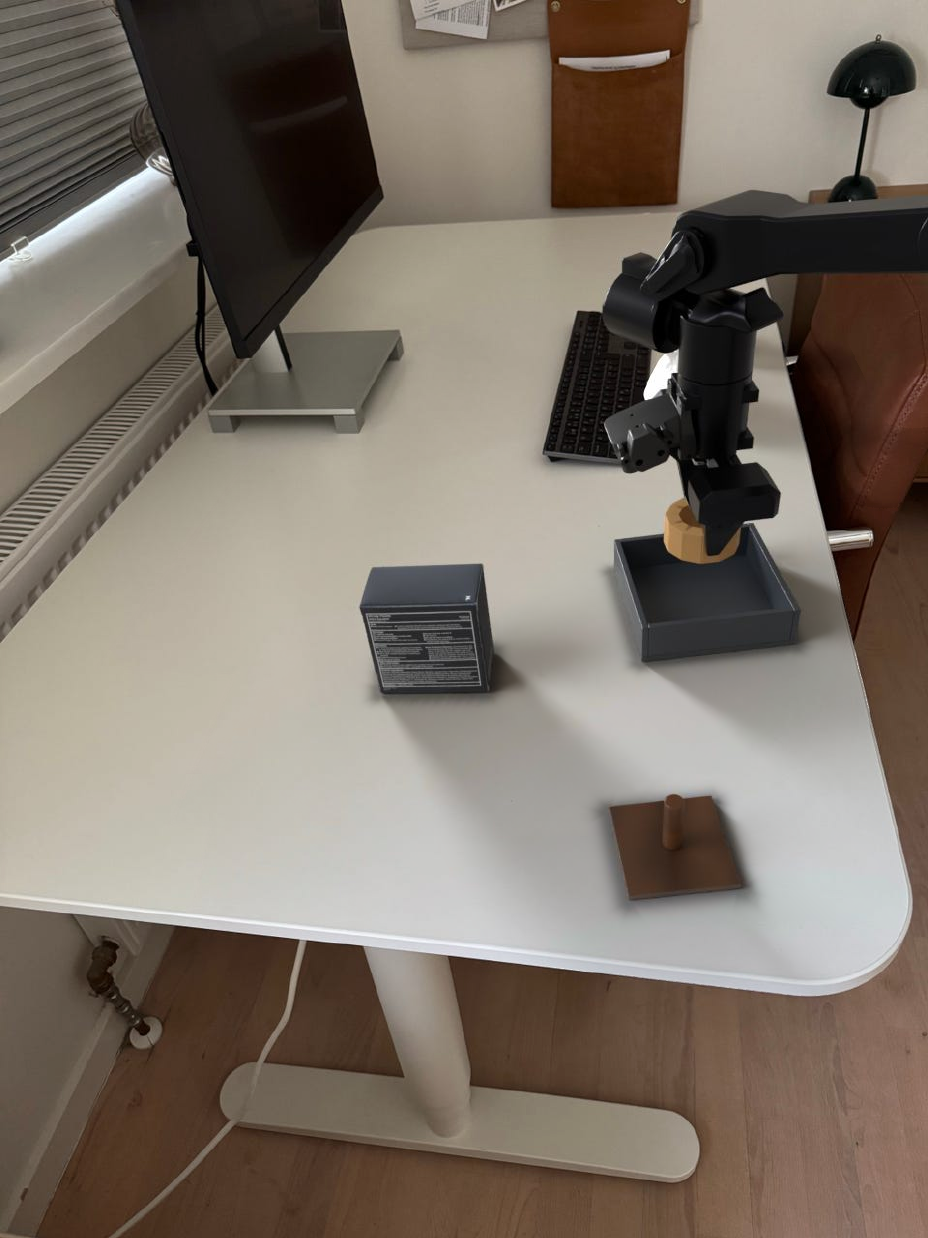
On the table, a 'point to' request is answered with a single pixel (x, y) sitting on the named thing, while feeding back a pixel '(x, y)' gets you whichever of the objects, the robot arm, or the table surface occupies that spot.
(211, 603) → the table surface
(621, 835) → the wooden peg board
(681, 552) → the tape
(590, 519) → the table surface
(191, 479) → the table surface
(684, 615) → the tray
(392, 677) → the small box
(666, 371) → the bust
